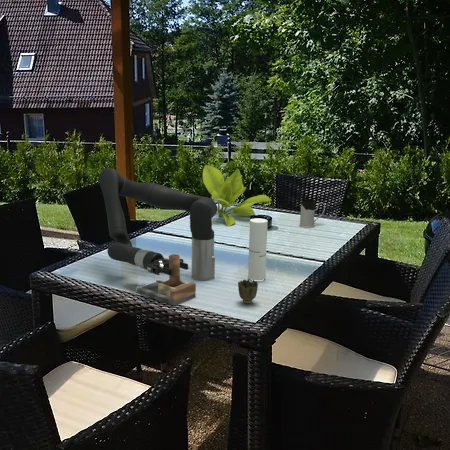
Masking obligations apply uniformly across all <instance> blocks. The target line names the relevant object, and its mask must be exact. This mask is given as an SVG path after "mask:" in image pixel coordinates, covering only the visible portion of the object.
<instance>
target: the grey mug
mask: <svg viewBox="0 0 450 450" xmlns="http://www.w3.org/2000/svg"><path fill="white" fill-rule="evenodd" d="M321 204H323V206H324V207H323V211H322V213H321V214H320V215H319V216H318V217H316V219H315V213H316V211H317V210H318V209H319V205H321ZM316 206H317V207H316ZM315 208H316V209H315ZM325 210H326V204H325V203H324V202H318V204H317V205H316V199H313V198H312V199H310V198H303V199H301V204H300V218H299V222H300V223H299V225H298V227H300V228H304V229H312V228H315V227H316V226H315V223H316V221H317V220H318V219H320V218H321V217H322V216H323V214H324V213H325Z"/></svg>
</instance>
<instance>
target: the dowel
mask: <svg viewBox="0 0 450 450" xmlns="http://www.w3.org/2000/svg"><path fill="white" fill-rule="evenodd" d="M168 259H169V269H172V275H168V276H169V277H168V280H169V286H171V287H176V286H179V285H180V281H181V268H180V259H181V257H180V255H179V254H174V253H172V254H169V255H168Z"/></svg>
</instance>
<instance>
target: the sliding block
mask: <svg viewBox="0 0 450 450" xmlns="http://www.w3.org/2000/svg"><path fill="white" fill-rule="evenodd" d="M163 281H164V280H163ZM188 283H189V282H186V281H183V280H180V285H179V286H176V287H171V286H169V279H167V280H165V281H164V282H162V283H159V284H158V293H159V294H162V295H165V296H168V297H170V290H173V289H176V288H178V287H181V286H183V285H186V284H188Z"/></svg>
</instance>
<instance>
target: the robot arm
mask: <svg viewBox="0 0 450 450" xmlns="http://www.w3.org/2000/svg"><path fill="white" fill-rule="evenodd" d="M98 183H99V187H100V189H101V192H102V196H103V201H104V204H105V210H106V216H107V224H108V232H109V233H108V234H109V237H110V238H111V239H113V240H115V242H112V243H111V244H109V245H108V247H107V255H108V257H109V258H110V259H111V260H114V261H119V262H122V263H127V264H129V265H132V266H135V267H138V268H140V269H143V270H146V271H147V272H149V273H152V274H153V275H156V276H158V275H160V274H161V275H163V274H164V275H167V276H169V275H172V269H169V258H167V257H164V256H163V254H161V253H160V252H156V251H154V250H149V249H143V248H140V247H135V246H133V243H132V241H131V240H130V236H129V233H128V230H127V224H126V223H127V222H126V218H125V213H124V211H123V208H122V204H121V200H120V197H124V198H129V199H133V200H135V201H137V202H140V203H142V204H147V205H149V206H152V207H156V208H160V209H163V210H164V209H165V210H180V211H185V212H188V213H189V228H190V233H191V278H192V279H193V280H195V281H209V280H213V279H215V278H216V277H215V273H216V271H215V270H216V269H215V268H216V256H215V230H213V227H212V226H213V223H212V222H213V221H212V220H213V218H214V217H215V216H216V215H217V214H218V204H217V203H216V202H215V200H213V199H212V198H210V197H207V196H206V197H205V196H201V195H196V194H190V193H187V192H184V191H180V190H178V189H174V188H171V187H168V186H165V185H161V184H159V183H155V182H138V181H134V180H130V179H128V178H125V177H124V176H122V175H121V174H120V173H119V171H118V170H117V169H115V168H113V167H107V168H104V169H102V170H101V171H100V173H99V175H98ZM180 269H183V270H185V271H186V270H188V269H189V264H188V263H187V262H184V258H180Z"/></svg>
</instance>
